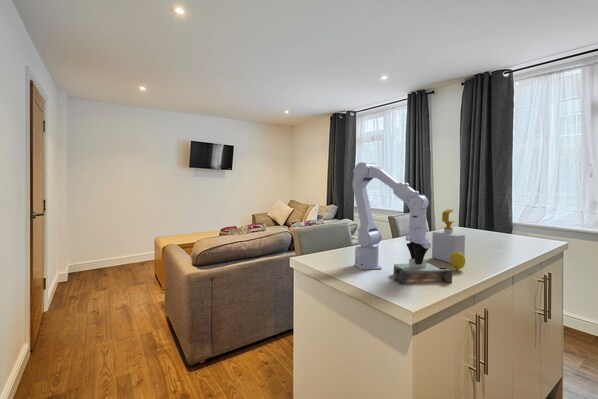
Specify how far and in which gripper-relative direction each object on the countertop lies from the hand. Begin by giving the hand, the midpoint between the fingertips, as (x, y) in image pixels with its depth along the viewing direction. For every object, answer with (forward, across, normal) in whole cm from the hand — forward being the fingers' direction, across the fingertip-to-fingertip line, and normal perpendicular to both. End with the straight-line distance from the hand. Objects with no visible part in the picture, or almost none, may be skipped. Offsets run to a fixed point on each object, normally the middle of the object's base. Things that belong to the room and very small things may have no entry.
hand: (416, 263), depth 105 cm
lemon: (+6, +7, -21) cm, 23 cm away
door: (+2, 0, 0) cm, 2 cm away
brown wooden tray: (+5, -1, 0) cm, 6 cm away
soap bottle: (+6, +21, -26) cm, 34 cm away
